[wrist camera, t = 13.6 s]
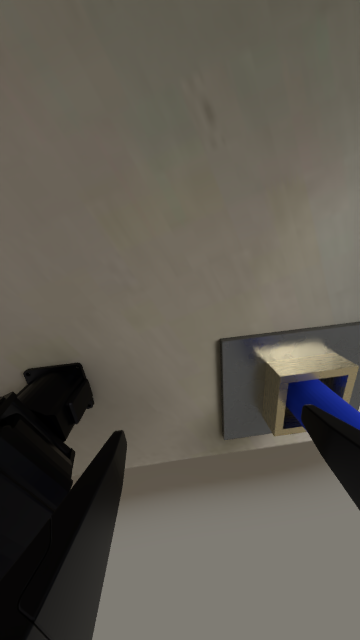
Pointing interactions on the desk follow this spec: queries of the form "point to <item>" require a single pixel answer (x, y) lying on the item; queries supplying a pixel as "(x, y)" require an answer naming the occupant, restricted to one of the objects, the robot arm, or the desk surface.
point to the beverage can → (319, 401)
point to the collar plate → (284, 375)
